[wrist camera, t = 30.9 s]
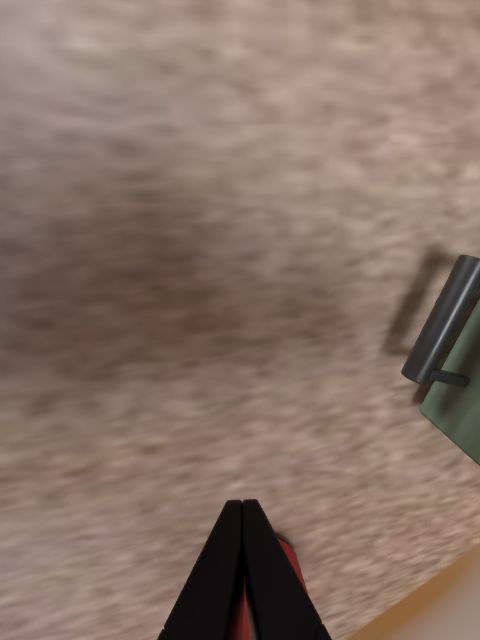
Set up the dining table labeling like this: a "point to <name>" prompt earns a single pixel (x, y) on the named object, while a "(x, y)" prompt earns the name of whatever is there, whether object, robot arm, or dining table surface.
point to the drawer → (452, 359)
